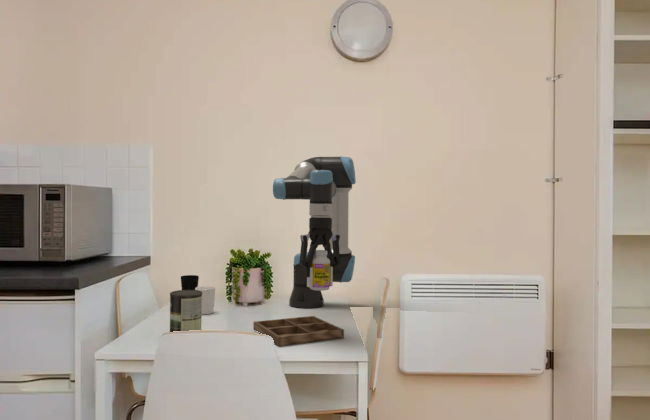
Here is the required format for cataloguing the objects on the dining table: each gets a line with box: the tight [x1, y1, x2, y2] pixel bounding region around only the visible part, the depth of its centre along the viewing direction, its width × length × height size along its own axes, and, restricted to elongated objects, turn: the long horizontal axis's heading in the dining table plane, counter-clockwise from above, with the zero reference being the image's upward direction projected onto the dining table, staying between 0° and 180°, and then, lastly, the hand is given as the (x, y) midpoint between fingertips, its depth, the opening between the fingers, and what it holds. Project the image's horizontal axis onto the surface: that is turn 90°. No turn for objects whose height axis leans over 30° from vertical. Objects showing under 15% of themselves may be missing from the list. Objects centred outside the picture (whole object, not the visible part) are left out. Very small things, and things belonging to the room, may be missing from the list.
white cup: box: [195, 285, 216, 315], centre depth 197 cm, size 8×8×10 cm
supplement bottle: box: [310, 249, 331, 292], centre depth 163 cm, size 7×7×13 cm
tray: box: [252, 315, 345, 348], centre depth 165 cm, size 23×23×3 cm
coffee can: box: [169, 289, 203, 333], centre depth 162 cm, size 10×10×14 cm
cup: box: [180, 274, 200, 290], centre depth 215 cm, size 8×8×12 cm
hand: (319, 286), depth 163 cm, fingers closed on supplement bottle, 7 cm apart
